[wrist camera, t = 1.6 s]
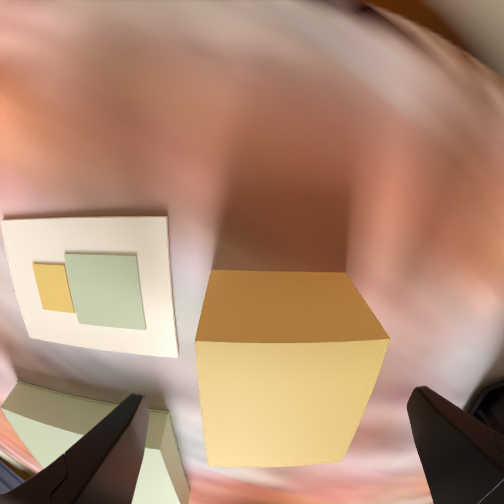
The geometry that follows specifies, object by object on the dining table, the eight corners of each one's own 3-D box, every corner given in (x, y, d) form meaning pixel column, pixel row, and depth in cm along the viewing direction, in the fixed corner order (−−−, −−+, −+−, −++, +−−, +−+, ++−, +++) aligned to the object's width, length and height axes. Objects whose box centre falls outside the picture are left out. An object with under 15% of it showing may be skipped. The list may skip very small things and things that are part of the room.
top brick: (344, 271, 12) (390, 338, 7) (321, 385, 14) (341, 461, 10) (211, 268, 12) (194, 341, 7) (215, 386, 14) (207, 465, 9)
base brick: (170, 404, 14) (160, 449, 12) (190, 486, 18) (187, 518, 15) (21, 376, 14) (-1, 406, 11) (72, 463, 18) (61, 489, 15)
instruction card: (167, 216, 11) (165, 218, 10) (178, 355, 13) (177, 359, 12) (2, 219, 10) (-1, 221, 10) (31, 335, 12) (28, 338, 12)
